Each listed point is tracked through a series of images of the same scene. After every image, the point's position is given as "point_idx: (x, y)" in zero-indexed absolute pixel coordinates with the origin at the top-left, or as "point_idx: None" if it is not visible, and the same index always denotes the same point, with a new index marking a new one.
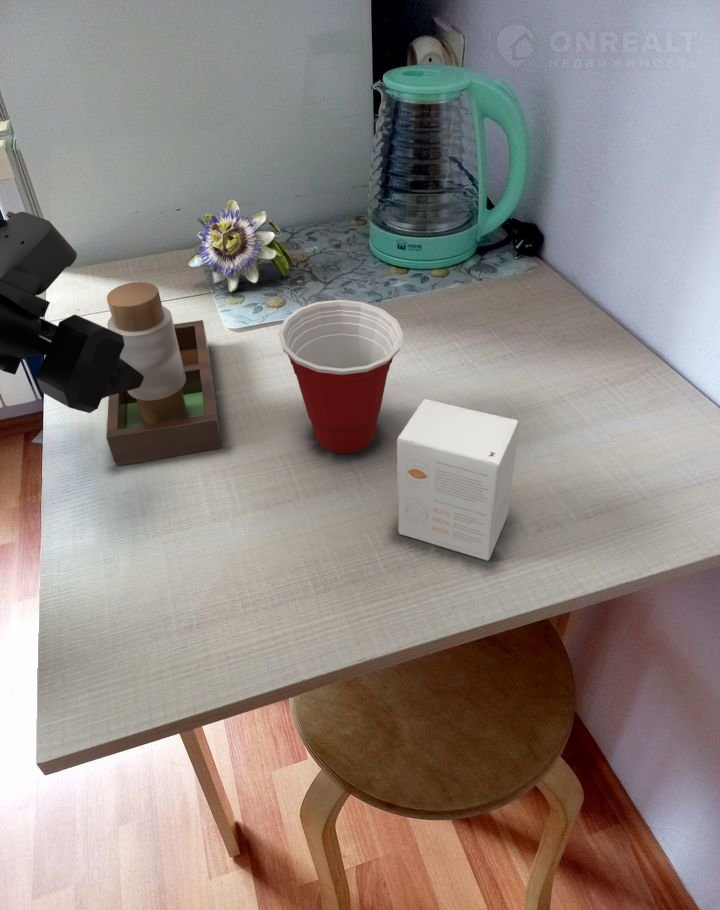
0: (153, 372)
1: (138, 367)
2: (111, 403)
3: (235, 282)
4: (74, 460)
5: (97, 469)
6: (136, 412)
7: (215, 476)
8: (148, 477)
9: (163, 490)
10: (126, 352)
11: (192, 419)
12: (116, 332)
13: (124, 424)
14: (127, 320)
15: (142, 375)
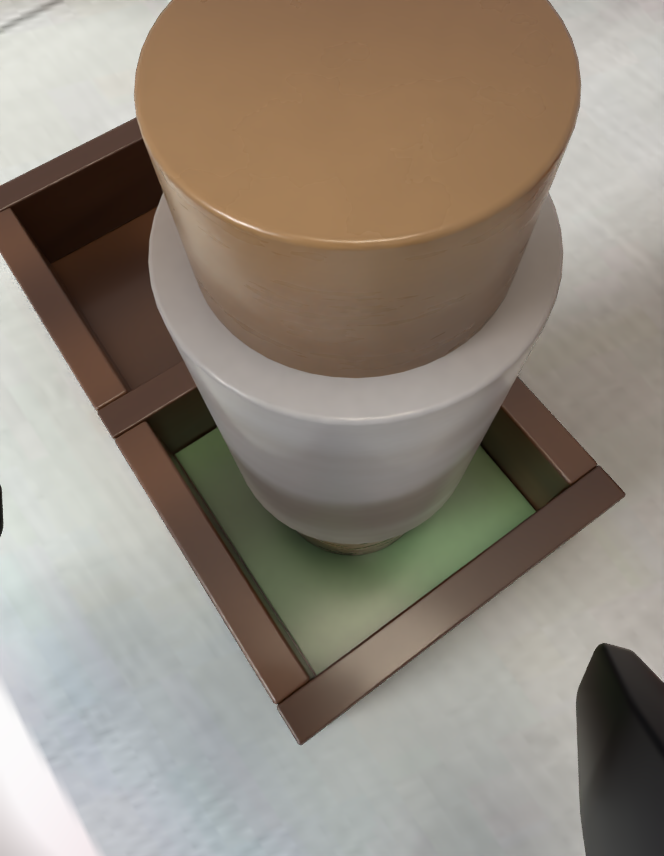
0: (457, 471)
1: (403, 490)
2: (192, 543)
3: None
4: (147, 758)
5: (254, 772)
6: (231, 481)
7: (650, 656)
8: (448, 744)
9: (539, 787)
10: (362, 471)
11: (546, 523)
12: (313, 411)
13: (241, 563)
14: (413, 323)
15: (643, 664)
